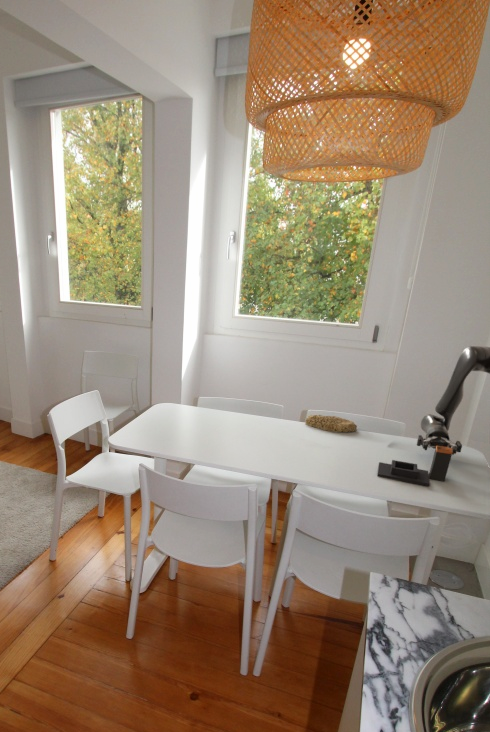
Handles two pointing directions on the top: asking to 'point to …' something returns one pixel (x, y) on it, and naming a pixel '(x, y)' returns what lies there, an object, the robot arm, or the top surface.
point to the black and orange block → (440, 463)
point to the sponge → (331, 423)
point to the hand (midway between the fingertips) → (439, 449)
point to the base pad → (403, 472)
